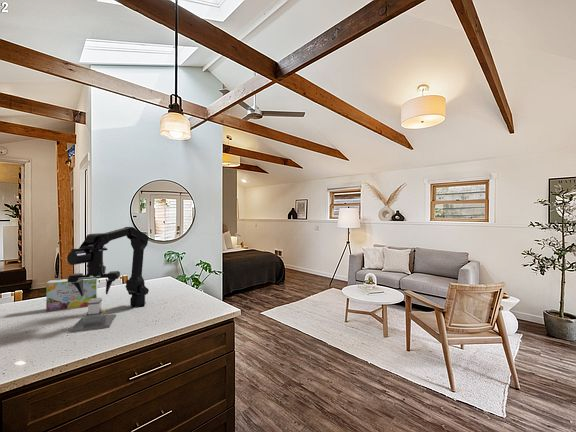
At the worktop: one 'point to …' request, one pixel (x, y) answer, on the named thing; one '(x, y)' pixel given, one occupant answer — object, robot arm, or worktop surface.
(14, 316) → the worktop surface
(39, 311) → the worktop surface
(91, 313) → the gray rectangular plug
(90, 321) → the stand base
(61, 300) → the snack box
